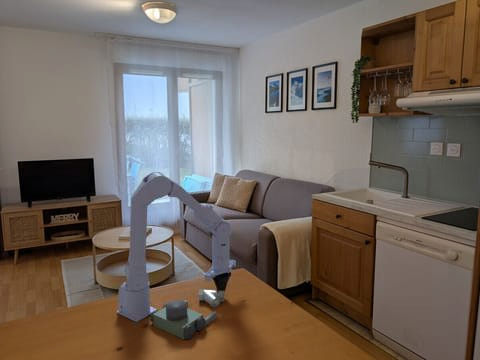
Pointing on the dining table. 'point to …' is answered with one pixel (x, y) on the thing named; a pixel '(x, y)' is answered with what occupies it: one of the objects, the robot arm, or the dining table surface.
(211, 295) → the pipe fitting
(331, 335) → the dining table surface
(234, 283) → the dining table surface
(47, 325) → the dining table surface
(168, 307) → the grey-green knobbed block
